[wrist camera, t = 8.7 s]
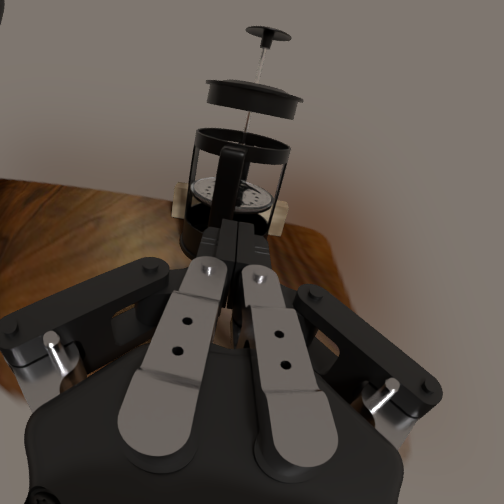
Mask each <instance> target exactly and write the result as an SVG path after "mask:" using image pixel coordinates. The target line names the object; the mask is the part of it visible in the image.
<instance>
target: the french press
mask: <svg viewBox="0 0 504 504" xmlns="http://www.w3.org/2000/svg"><path fill="white" fill-rule="evenodd" d="M246 32H248V33H249V34H252V35H255V36H258V37H261V38H262V40H261V45H260V48H263V50H262V54H261V58H260V62H259V66H258V70H257V74H256V78H255V82H254V83H251V82H246V81H239V80H223V81H217V80H206V83H207V84H210V89H209V93H208V99H207V103H210V104H214V105H219V106H225V107H230V108H235V109H240V110H246V111H248V113H247V118H246V122H245V126H244V131H237V130H229V129H221V128H201V129H198V130H197V131H196V137H195V143H194V149H193V155H192V162H191V169H190V176H189V183H188V191H187V199H186V207H185V216H184V225H183V232H182V234H181V237H180V246H181V249H182V251H183V252H184V254H185V255H186V256H187V257H189V258H190V259H191V260H193V259H195V258H196V256H197V253H198V249H199V246H200V243H201V239H202V236H203V232H202V231H201V230H204V229H207V228H209V227H215V228H220V229H221V225H222V219H227V220H233V221H238V222H244V223H250V224H254V235H260V236H263V237H264V238H265V239H266V240H267V236H268V233H269V229H270V225H271V222H272V218H273V214H274V210H275V207H276V203H277V199H278V195H279V192H280V188H281V184H282V180H283V177H284V173H285V169H286V165H287V162H288V158H289V154H290V150H291V148H290V146H288V145H286V144H284V143H282V142H280V141H277V140H274V139H271V138H268V137H265V136H261V135H257V134H253V133H248V132H247V131H248V126H249V121H250V118H251V113H252V112H256V113H261V114H266V115H271V116H275V117H280V118H285V119H291V120H293V119H294V115H295V111H296V107H297V103H298V102H302V103H303V99H301V98H298V97H296V96H293V95H289V94H288V93H286V92H285V91H283V90H280V89H277V88H274V87H270V86H266V85H261V84H258V83H259V78H260V75H261V71H262V66H263V62H264V58H265V54H266V50H267V49H270V46H271V44H272V40H277V41H289V40H291V36H290V35H288V34H287V33H285V32H283V31H281V30H277V29H274V28H270V27H264V26H251V27H248V28H246ZM228 141H233V142H239V143H238V144H237V143H232V142H228ZM254 146H257V147H254ZM259 147H261V148H259ZM200 149H201V150H203V151H206V152H208V153H212V154H215V155H218V156H220V158H219V163H218V169H217V174H216V177H214V178H204V179H199V180H197V181H195V175H196V169H197V162H198V156H199V150H200ZM250 162H252V163H260V164H271V165H279V164H283V168H282V172H281V175H280V179H279V183H278V187H277V191H276V194H275V198H273V197H272V195H271V194H270V193H268V192H267V191H266V190H264V189H262V188H260V187H258V186H256V185H253V184H251V183H248V182H246V180H247V176H248V171H249V166H250ZM193 196H194V198H195V199H196V200H198V201H199V202H201V203H198V204H194V205H192V206H191V204H192V197H193ZM272 204H273V205H272ZM271 207H272V209H271V213H270V217H269V221H268V222H267V220H266V219H265V218H264V217H263V216H261V215H260V214H259V213H263V212H265V211H268V210H269V209H270V208H271ZM237 226H238V223H237Z"/></svg>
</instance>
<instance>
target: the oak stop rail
mask: <svg viewBox="0 0 504 504" xmlns="http://www.w3.org/2000/svg"><path fill="white" fill-rule="evenodd" d="M187 191H188V184H187V183H181V182H178V183H177V184H176V186H175V188H174V197H173V207H172V217H176V218H182V219H184V216H185V207H186V199H187ZM198 203H201V202H199V201H198V200H196V199H195V198H194V196H193V197H192V204H191V206H192V205H194V204H198ZM272 205H273V204H272ZM271 209H272V207H271V208H270V209H269V210H268V211H265V212H263V213H259V214H260V215H261V216H263V217H264V218H265V219H266V220H267V222H268V221H269V217H270V213H271ZM288 209H289V207H288V205H287V202H284V201H279V200H277V203H276V207H275V210H274V214H273V218H272V222H271V225H270V229H269V233H268V234H270V235H276V236H281V233H282V229H283V226H284V223H285V219H286V216H287V212H288Z"/></svg>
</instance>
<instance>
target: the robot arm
mask: <svg viewBox="0 0 504 504" xmlns="http://www.w3.org/2000/svg"><path fill="white" fill-rule="evenodd" d="M3 12H4V0H0V24H1V20H2V17H3ZM237 223H238V226H237ZM227 296H228V298H227ZM226 301H227V308H228V309H232V317H231V321H230V334H231V349H227V348H224V347H221V346H219V345H216V344H213V339H214V335H215V330H216V325H217V320H218V317H219V316H220V313H221V308H225V306H226ZM132 304H135V307H134V308H132V309H130V310H128V311H126V312H124V313H122V314H120V315H118V316H116V317H114V318H112V317H113V315H114V314H115V313H116V312H117V311H119V310H121V309H123V308H125V307H127V306H129V305H132ZM318 330H320V331H321V332H323V333H324V334H325V335H326V336H327V337H328V338H330V339H331V340H332V341H333V342H334V343H335V344H336V345H337V346H338V348H339V351H340V355H339V357H338V356H336V355H335V354H334V353H333V352H332V351H331V350H330V349H328V348H327V347H326V346H325V345H324V344H323V343H322V342H320V341H319V340H318V339H317V338H316V337H315V335H316V333H317V331H318ZM152 337H153V338H152ZM151 338H152V340H151V343H147V344H144V345H141V346H139V345H140V344H142V343H144V342H145V341H147V340H149V339H151ZM137 346H139V347H137ZM135 347H136V348H135ZM133 348H134V349H133ZM132 349H133V350H132ZM130 350H131V351H130ZM0 351H1V353H2V354H3V356H4V359H5V361H6V362H7V364H8V365H9V367H10V368H11V370H12V371H13V373H14V374H15V376H16V378H17V381H18V383H19V385H20V388H21V390H22V392H23V395H24V397H25V399H26V401H27V403H28V405H29V407H30V409H31V411H32V413H33V414H32V415H31V416H30V418H29V420H28V422H27V425H26V428H25V434H24V444H25V450H26V455H27V460H28V467H29V492H28V496H27V498H26V501H25V503H24V504H397V502H398V497H399V492H400V488H401V485H402V481H403V475H404V468H403V462H402V459H401V456H400V454H399V452H398V449H399V448H400V447H401V445H402V444H403V442H404V441H405V439H406V437H407V436H408V434H409V433H410V431H411V430H412V428H413V426H414V425H415V423H416V422H417V421H418V420H419V419H420V418H422V417H423V416H424V415H425V414H426V413H428V412H429V411H430V410H431V409H432V408H433V407H434V406H436V405H437V404H438V403H439V402H440V401H441V399H442V395H443V392H442V388H441V385H440V384H439V382H438V381H437V379H436V378H435V377H433V376H432V375H431V374H430V373H429V372H427V371H426V370H425V369H424V368H422V367H421V366H420V365H419V364H418V363H416V362H415V361H414V360H413V359H411V358H410V357H409V356H407V355H406V354H405V353H404V352H403V351H402V350H400V349H399V348H398V347H397V346H395V345H394V344H393V343H391V342H390V341H389V340H388V339H387V338H385V337H384V336H383V335H382V334H380V333H379V332H378V331H377V330H375V329H374V328H373V327H372V326H370V325H369V324H368V323H367V322H365V321H364V320H363V319H362V318H360V317H359V316H358V315H357V314H355V313H354V312H353V311H352V310H350V309H349V308H348V307H347V306H345V305H344V304H343V303H341V302H340V301H339V300H338V299H336V298H335V297H334V296H333V295H331V294H330V293H329V292H328V291H326V290H325V289H323V288H322V287H320V286H317V285H313V284H304V285H301V286H300V287H299V288H298V290H297V291H295V290H293V289H290V288H287V287H285V286H283V285H281V284H280V283H279V280H278V277H277V275H276V273H275V272H274V271H273V270H272V269H271V261H270V255H269V246H268V242H267V240H266V239H265V238H264V237H263V236H260V235H254V224H250V223H244V222H238V221H233V220H227V219H222V225H221V229H220V228H215V227H209V228H207V229H206V230H205V231H204V232H203V236H202V239H201V243H200V246H199V249H198V253H197V256H196V258H195V259H193V260H192V262H191V263H190V266H189V267H187V268H184V269H177V270H169V265H168V264H167V263H166V262H165V261H164V260H162V259H159V258H155V257H145V258H141V259H138V260H136V261H133V262H131V263H128V264H126V265H123V266H121V267H118V268H116V269H113V270H111V271H108V272H106V273H103V274H101V275H98V276H96V277H94V278H91V279H89V280H86V281H84V282H82V283H79V284H77V285H74V286H72V287H70V288H67V289H65V290H63V291H60V292H58V293H56V294H53V295H51V296H49V297H46V298H44V299H42V300H40V301H37V302H35V303H33V304H31V305H28V306H26V307H24V308H22V309H20V310H17V311H15V312H13V313H11V314H9V315H7V316H5V317H3V318H2V319H1V320H0ZM128 351H129V352H128ZM127 352H128V353H127ZM125 353H126V354H125ZM123 354H124V355H123ZM121 355H123V356H121ZM120 356H121V357H120ZM118 357H120V358H118ZM116 358H118V359H116ZM114 359H116V360H115V361H113V360H114ZM111 361H113V362H112V363H110V364H108V365H107V366H105V367H103V368H102V369H100V370H99V371H97V372H95V373H94V374H92V375H90V376H89V377H87V375H88V374H90V373H91V372H93V371H95V370H97V369H99V368H100V367H102V366H104V365H106V364H107V363H109V362H111Z"/></svg>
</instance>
